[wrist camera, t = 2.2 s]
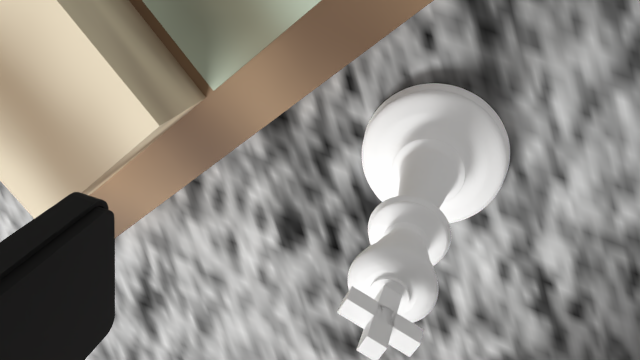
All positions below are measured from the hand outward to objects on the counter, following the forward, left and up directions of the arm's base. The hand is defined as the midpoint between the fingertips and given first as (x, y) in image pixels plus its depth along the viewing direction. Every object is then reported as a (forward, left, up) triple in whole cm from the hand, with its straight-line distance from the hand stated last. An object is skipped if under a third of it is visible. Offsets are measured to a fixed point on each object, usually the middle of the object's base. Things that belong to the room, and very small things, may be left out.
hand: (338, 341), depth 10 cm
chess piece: (-1, 0, -11) cm, 11 cm away
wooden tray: (+10, -2, -11) cm, 15 cm away
